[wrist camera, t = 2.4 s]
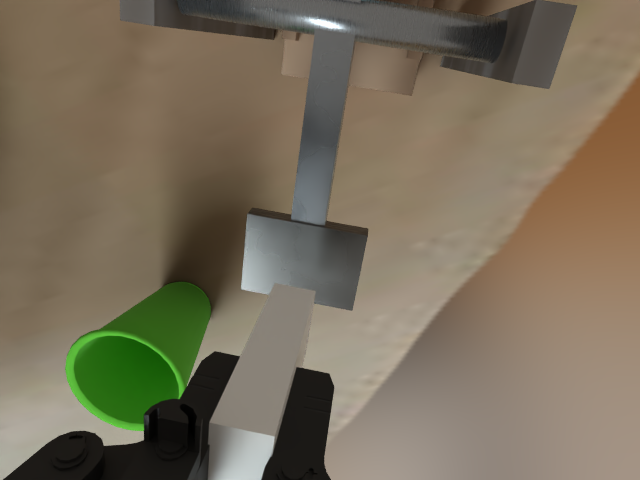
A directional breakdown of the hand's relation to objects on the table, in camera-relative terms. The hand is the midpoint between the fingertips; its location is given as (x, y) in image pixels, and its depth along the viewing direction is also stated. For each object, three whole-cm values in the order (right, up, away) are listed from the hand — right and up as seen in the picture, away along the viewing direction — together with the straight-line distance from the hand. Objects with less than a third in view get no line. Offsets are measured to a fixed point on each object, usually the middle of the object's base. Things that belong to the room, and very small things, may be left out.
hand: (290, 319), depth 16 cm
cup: (-12, -3, +26) cm, 28 cm away
